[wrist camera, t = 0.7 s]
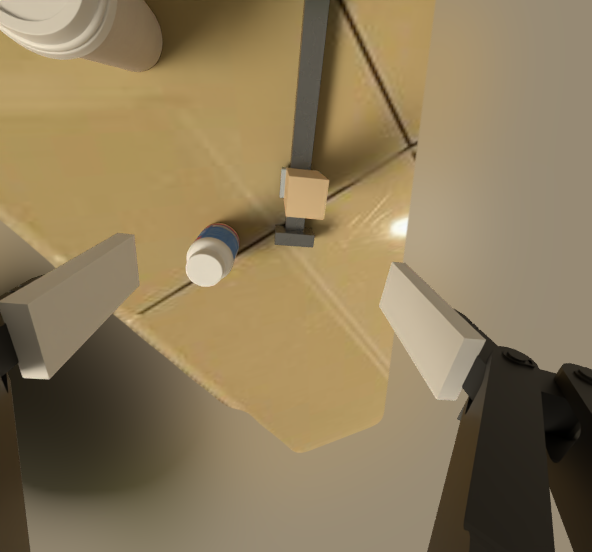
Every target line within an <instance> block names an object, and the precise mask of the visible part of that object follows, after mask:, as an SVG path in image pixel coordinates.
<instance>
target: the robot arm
mask: <svg viewBox="0 0 592 552" xmlns="http://www.w3.org/2000/svg"><path fill="white" fill-rule="evenodd" d="M138 286H139V276H138V266H137V256H136V246H135V237H134V235H133V234H123V233H117V234H115V235H113V236H111V237H110V238H108V239H106V240H104V241H103V242H101V243H99V244H97V245H96V246H94V247H92V248H91V249H89V250H87V251H85V252H84V253H82V254H80V255H78V256H77V257H75V258H73V259H71V260H70V261H68V262H66V263H64V264H63V265H61V266H59V267H57V268H56V269H54V270H52V271H50V272H49V273H47V274H44V275H41V276H38V277H35V278H32V279H30V280H28V281H26V282H24V283H23V284H21V285H20V286H19V287H15V288H14V289H12V290H10V291H9V292H7V293H5V294H3V295H1V296H0V552H30V545H29V537H28V528H27V519H26V511H25V503H24V494H23V485H22V476H21V468H20V459H19V451H18V442H17V434H16V425H15V417H14V408H13V400H12V391H11V383H10V379H9V376H8V373H7V372H8V371H9V370H10V369H12V368H13V367H14V366H15V365H16V364H17V363H18V365H19V368H20V371H21V374H22V376H23V378H35V379H50V378H51V377H52V376H53V375H54V374H55V373H56V372H57V371H58V370H59V369H60V368H61V366H62V365H63V364H64V363H65V362H66V361H67V360H68V359H69V358H70V357H71V356H72V355H73V354H74V353H75V352H76V351H77V350H78V349H79V348H80V347H81V346H82V345H83V343H84V342H85V341H86V340H87V339H88V338H89V337H90V336H91V335H92V334H93V333H94V332H95V331H96V330H97V329H98V328H99V327H100V326H101V325H102V324H103V323H104V322H105V321H106V320H107V318H108V317H109V316H110V315H111V314H112V313H113V312H114V311H115V310H116V309H117V308H118V307H119V306H120V305H121V304H122V303H123V302H124V301H125V300H126V299H127V298H128V297H129V295H130V294H131V293H132V292H133V291H134V290H135V289H136V288H137V287H138ZM379 307H380V308H381V310H382V312H383V313H384V315H385V317H386V318H387V320H388V321H389V323H390V325H391V326H392V328H393V330H394V331H395V333H396V334H397V336H398V337H399V339H400V341H401V342H402V344H403V346H404V347H405V349H406V350H407V352H408V354H409V355H410V357H411V359H412V360H413V362H414V364H415V365H416V367H417V368H418V370H419V372H420V373H421V375H422V376H423V378H424V380H425V381H426V383H427V385H428V386H429V388H430V389H431V391H432V393H433V394H434V396H435V398H436V399H438V400H457V397H458V395H459V393H460V391H461V389H462V388H463V389H464V390H465V392H466V393H467V394H468V395H469V397H468V399H467V401H466V403H465V405H464V407H463V408H462V410H461V412H460V415H459V416H458V418H457V419H458V420H460V425H459V429H458V433H457V437H456V441H455V445H454V449H453V452H452V456H451V461H450V464H449V468H448V472H447V476H446V481H445V484H444V488H443V492H442V496H441V500H440V504H439V508H438V512H437V516H436V520H435V524H434V527H433V531H432V535H431V539H430V543H429V547H428V551H427V552H555V548H554V537H553V525H552V513H551V502H550V490H551V492H552V495H553V498H554V500H555V503H556V506H557V508H558V511H559V514H560V516H561V519H562V522H563V524H564V527H565V530H566V532H567V535H568V538H569V540H570V543H571V546H572V548H573V551H574V552H592V370H591V369H589V368H587V367H582V366H579V365H575V364H571V363H568V364H567V363H566V364H563V365H562V367H561V368H560V369H559V371H558V372H557V374H556V373H551V372H548V371H544V370H540V369H539V368H538V366H537V364H536V363H535V362H534V361H533V360H532V359H531V358H529V357H528V356H526V355H525V354H523V353H521V352H519V351H517V350H514V349H511V348H508V347H501V346H497V345H496V344H495V343H494V342H493V341H492V340H491V339H490V338H488V337H487V336H486V335H485V334H484V333H483V332H482V331H481V330H479V329H478V327H476V325H475V324H472V322H471V321H470V320H469V319H468V318H467V317H466V316H465V315H463V314H462V313H460V312H458V311H457V310H455V309H453V308H452V307H451V306H450V305H449V304H448V303H447V302H446V301H445V300H444V299H442V298H441V297H440V296H439V295H438V294H437V293H436V292H435V291H434V290H433V289H432V288H431V287H430V286H429V285H428V284H427V283H426V282H425V281H424V280H423V279H421V277H419V276H418V275H417V274H416V273H415V272H414V271H413V270H412V269H411V268H410V267H409V266H408V265H407V264H406V263H399V262H392V263H391V267H390V270H389V273H388V277H387V280H386V284H385V287H384V291H383V294H382V298H381V301H380V304H379ZM549 487H550V490H549Z"/></svg>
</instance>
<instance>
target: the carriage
mask: <svg viewBox="0 0 592 552" xmlns="http://www.w3.org/2000/svg"><path fill="white" fill-rule="evenodd" d="M328 186H329V179H327V178H326V177H325V176H323V175H322V174H321V172H319V171H317V170H304V169H294V168H288V167H282V170H281V184H280V198H284V206H285V215H286V217H296V218H308V219H320V220H324V214H325V207H326V200H327V193H328Z"/></svg>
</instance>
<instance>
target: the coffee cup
mask: <svg viewBox="0 0 592 552" xmlns="http://www.w3.org/2000/svg"><path fill="white" fill-rule="evenodd" d="M0 30H1V31H2V32H3V33H5V34H6V35H7V36H8V37H10V38H11V39H12V40H14V41H15V42H17V43H18V44H20V45H21V46H23V47H24V48H26V49H28V50H30V51H32V52H34V53H37V54H39V55H42V56H45V57H49V58H53V59H63V60H67V59H75V58H83V59H87V60H91V61H94V62H98V63H102V64H106V65H110V66H114V67H118V68H122V69H125V70H129V71H134V72H141V71H146V70H148V69H150V68H151V67H153V66H154V65H155V64H156V62H157V61H158V59H159V57H160V55H161V51H162V44H163V41H162V33H161V29H160V25H159V23H158V21H157V19H156V17H155V15H154V13H153V12H152V11H151V9H150V8H149V6H148V5H147V4H146V2H145V1H144V0H0Z"/></svg>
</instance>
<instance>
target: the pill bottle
mask: <svg viewBox="0 0 592 552" xmlns="http://www.w3.org/2000/svg"><path fill="white" fill-rule="evenodd" d="M239 244H240V242H239V237H238V235H237V233H236V232H235V231H234V229H232V228H231V227H230V226H228V225H226V224H222V223H215V224H211V225H209V226H207V227H206V228H205V229H204V230H203V231H202V232H201V234H200V235H199V236H198V237H197V239H196V240H195V241H194V242H193V244H192V245H191V246H190V248H189V250H188V252H187V264H186V273H187V275H188V277H189V279H190V280H191V281H192V282H194V283H195V284H197V285H199V286H204V287H209V286H213V285H215V284H217V283H218V282H219V281H220V280H221V279H222V278H224V277H225V276H227V275H228V274H229V272H230V271H231V269H232V267H233V264H234V261H235V258H236V255H237V252H238V249H239Z"/></svg>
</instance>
